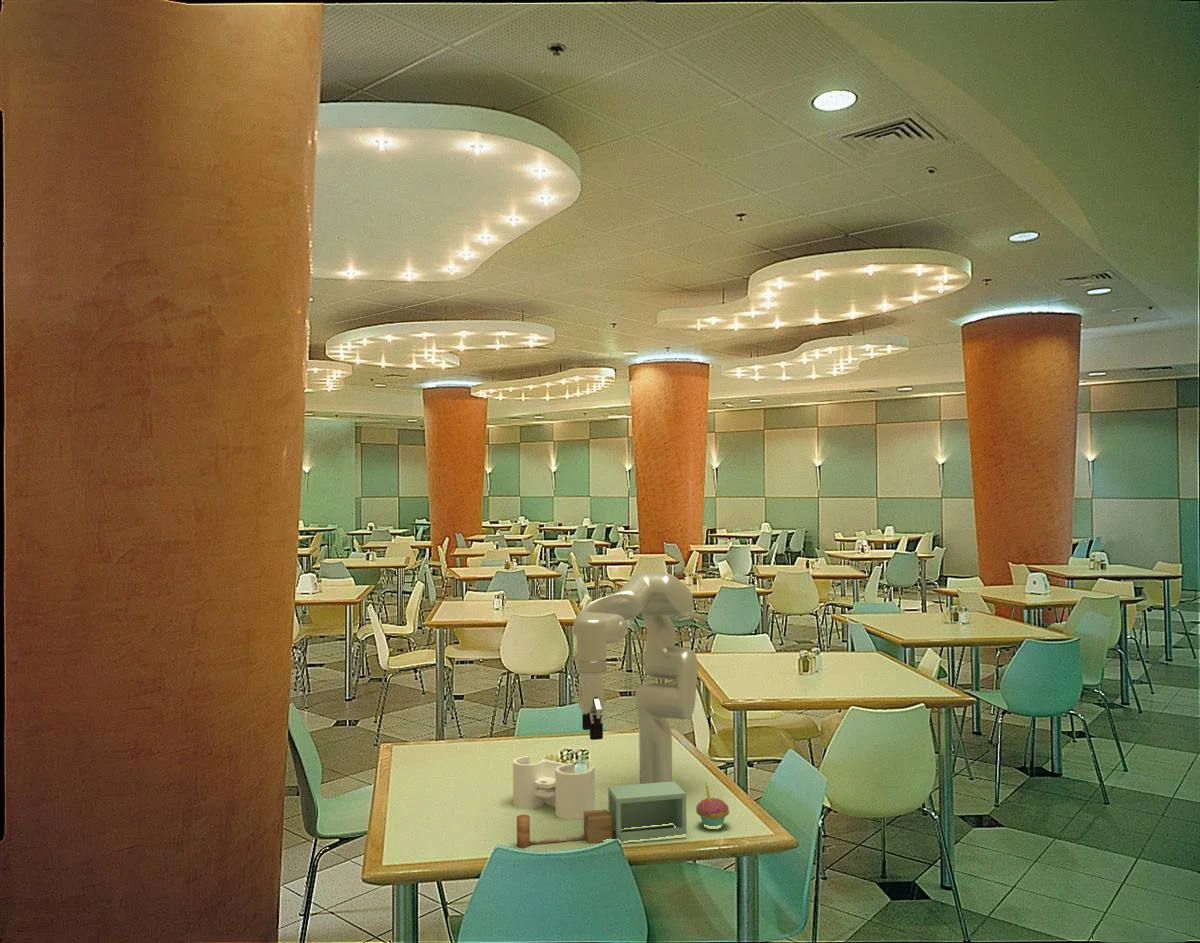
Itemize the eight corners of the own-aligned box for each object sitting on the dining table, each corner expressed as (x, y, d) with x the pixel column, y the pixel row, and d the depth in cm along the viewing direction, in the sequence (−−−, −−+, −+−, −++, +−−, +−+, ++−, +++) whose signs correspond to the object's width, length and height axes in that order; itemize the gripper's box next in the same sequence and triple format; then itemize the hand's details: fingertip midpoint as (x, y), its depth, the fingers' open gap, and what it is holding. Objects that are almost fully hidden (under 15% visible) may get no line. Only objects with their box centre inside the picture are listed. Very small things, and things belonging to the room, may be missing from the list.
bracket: (505, 806, 253) (505, 762, 254) (526, 796, 261) (525, 754, 262) (579, 822, 240) (579, 776, 240) (599, 811, 248) (598, 767, 248)
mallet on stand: (515, 841, 227) (515, 813, 227) (606, 832, 232) (606, 805, 232) (518, 850, 221) (518, 821, 221) (612, 841, 226) (611, 813, 226)
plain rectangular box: (608, 830, 234) (608, 786, 234) (675, 824, 238) (674, 781, 238) (617, 844, 224) (616, 799, 224) (686, 838, 228) (685, 793, 228)
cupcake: (711, 835, 230) (711, 787, 230) (689, 825, 236) (688, 779, 237) (736, 827, 235) (735, 781, 235) (713, 818, 241) (712, 773, 242)
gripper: (571, 661, 237) (571, 726, 236) (583, 673, 220) (584, 744, 219) (599, 659, 238) (599, 725, 238) (613, 672, 221) (614, 742, 221)
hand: (592, 734), depth 229 cm, fingers open, 9 cm apart
